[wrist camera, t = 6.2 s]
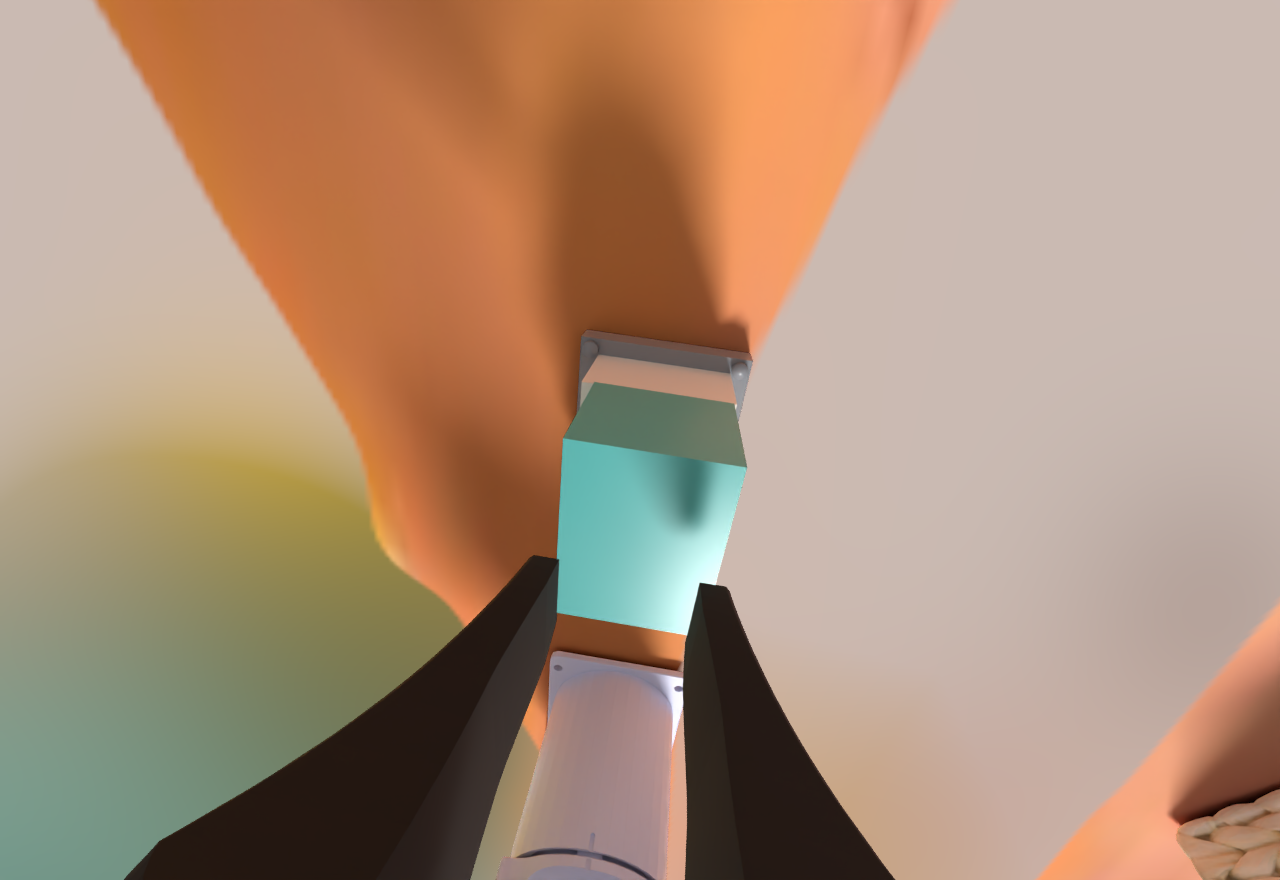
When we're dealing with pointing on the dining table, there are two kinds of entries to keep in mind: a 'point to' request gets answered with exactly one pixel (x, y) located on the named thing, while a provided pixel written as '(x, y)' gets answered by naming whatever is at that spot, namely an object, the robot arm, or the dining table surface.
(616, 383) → the cream brick
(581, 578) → the teal brick
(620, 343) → the baseplate
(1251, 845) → the storage basket
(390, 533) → the dining table surface
